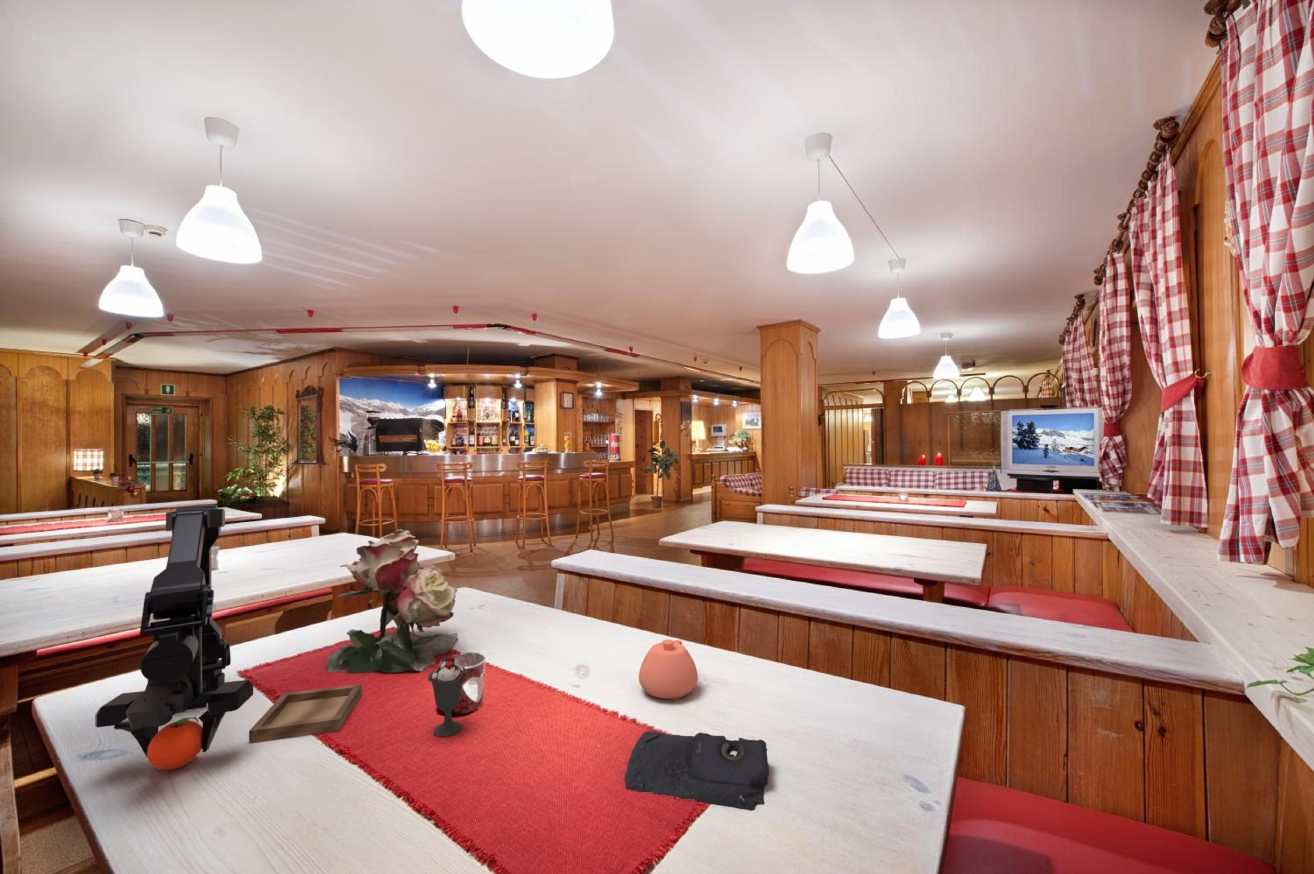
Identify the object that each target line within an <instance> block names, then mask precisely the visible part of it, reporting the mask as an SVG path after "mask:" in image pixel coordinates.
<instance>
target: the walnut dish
mask: <svg viewBox="0 0 1314 874" xmlns="http://www.w3.org/2000/svg"><path fill="white" fill-rule="evenodd" d="M362 685H363V684H361V683H360V684H351V685H343V686H335V687H334V686H333V687H326V688H318V689H309V690H301V691H299V690H298V691H292V692H283V693H282V695H280V696H279V698H278V699H277V700H276V701H275V702H274V703H273V704H272V705H271V707H270V708H269V709H268V710H267V711H266V712H264V714H263V715H262V716H261V717H260V718H259V719H258V720H257V722H256V723H254V725H253V726H252V727H251V728H250V729H249V730H248V743H249V744H252V743H260V742H266V741H274V740H280V739H281V740H282V739H288V738H296V737H297V738H298V737H302V736H310V735H317V734H318V735H319V734H325V733H326V734H327V733H333V732H339V731H340V730H341V729H342V728H343V726H344V724H345V722H346V721H347V719H348V717H349V716H350V715H351V713H352V711H353V709H354V708H355V706H356V705H357V703H358V701H359V700H360V698H361V696H362V695H363V693H362V691H363V690H362V689H363V686H362Z"/></svg>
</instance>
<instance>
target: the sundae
mask: <svg viewBox="0 0 1314 874" xmlns="http://www.w3.org/2000/svg"><path fill="white" fill-rule="evenodd" d="M453 652H454V649H453V648H451V651H449V654H448V656H443V657H442V659H441V661H440V662H439V664H440V665H438V667H437V668H436V669H434V670H432V671H431V672H430V673H428V675H427V681H428V682H431V684H432V688H433V696H434V702H435V705H436V706H435V707H436V708H438V709H439V710H440V711H442V712H443V713H444V717H443V722H442V723H440V724H438V725H437V726H435V728H434V729H433V731H432V732H433V735H434V736H436V737H439V738H447V737H451V736H454V735H456V734H458V733H459V732H460V731H461V730H462V729H463V724H462V722H461V721H460V722H459V721H455V720H453V715H452V711H453V710H454V709H455V708H456V707H457V706H458V704H459V703H460V699H461V696H462V695H461V694H462V689H463V682H464V680H463V679H464V678H465V677H466V675H467V673H468V669H466V668H465V667H464V666H462V665H461V664H460V662H459V660H458V659H457V658H456V657H455V655H454V654H452V653H453Z"/></svg>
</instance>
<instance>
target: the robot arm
mask: <svg viewBox="0 0 1314 874" xmlns="http://www.w3.org/2000/svg"><path fill="white" fill-rule="evenodd" d="M225 525H226V511H225V508H218V504H204V505H203V504H201V505H189V506H188V505H187V506H177V507H176V509H175V510H173V511H166V512H165V532H171V540H170V545H169V550H168V551H169V552H168V557H167V562H166V565H165V566H166V567H165V569H163V570H162V571H160V573H159V572H158V574H157V575H156V576H154V578H153V580H152V584H151V588H150V591H146V593H144V594H145V595H144V598H143V599H144V600H143V607H142V614H141V620H140V622H141V623H140V628H139V636H145V635H153V641H152V643H151V645H150V646H149V648H148V650H147V651H146V653H145V654H144V656H143V657H142V659H141V662H140V671H141V672H140V673H141V675H142V676H143V677H144V678H145V679H147V683H146V686H145V689H144V690H141V691H131V692H122V693H121V694H120V693H119V694H118V695H117V696H116V697H114V698H113V699H110V701H108V702H106V703H105V704H103V705H102V706H100V707H99V708H98V709H97V711H96V714H95V716H94V717H95V718H94V719H95V721H94V726H95V727H96V728H103V727H113V728H114V729H115V730H117V731H118V730H123V731H125V732H128V733H130V734H131V735H132V736H133V737H134V738H135V739H136V742H137V743H138V745H139V747H140V748H141V750H142V752H143V753H144V756H145V757H146V758H147V760H148V757H147V750H148V746H149V744H150V742H151V740H152V738H153V737H154V736H155V735H156V734H157V732H159V729H160V727H162V726H165V725H168V724H169V723H170V721H172V719H173V716H175V715H176V714H178V713H185V712H187V710H188V709H194V708H202V707H206V709H207V710H206V711H204V712H203V713H202V714H201V715H200V716H199V717H198V719H199V720H200V722H201V723H202V749H201V751H202V753H206V752H208V750H209V748H210V747H211V745H212V743H213V740H214V738H215V735H216V733H217V732H218V729H219V726H220V724H221V722H222V720H223V718H224V716H225V714H226V713H228V712H235V711H236V710H238V709H240V708H241V707H242V706H243V705H244V704H245V703H246V702H247V701H248V700H249V699H250V698H252V696H253V695H254V684H253V683H252V682H251V681H250V680H249V679H244V680H243V679H242V680H234V681H226V680H225V679H226V675H225V672H223V670H225V669H226V667H228V666H230V665H231V663H232V662H231V660H232V659H231V658H232V656H231V645H230V643H228V641H227V639H226V638H223V633H222V632H223V631H222V627H221V626H220V625H219V624H218V623H217V622H216V621H215V620H214V619H213V609H214V599H215V591H214V590H213V589H212V547H213V545H214V543H216V542H217V540H218V539H219V536H221V534H222V528H224V527H225ZM151 617H152V619H153V620H154V621H152V622H151Z"/></svg>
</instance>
